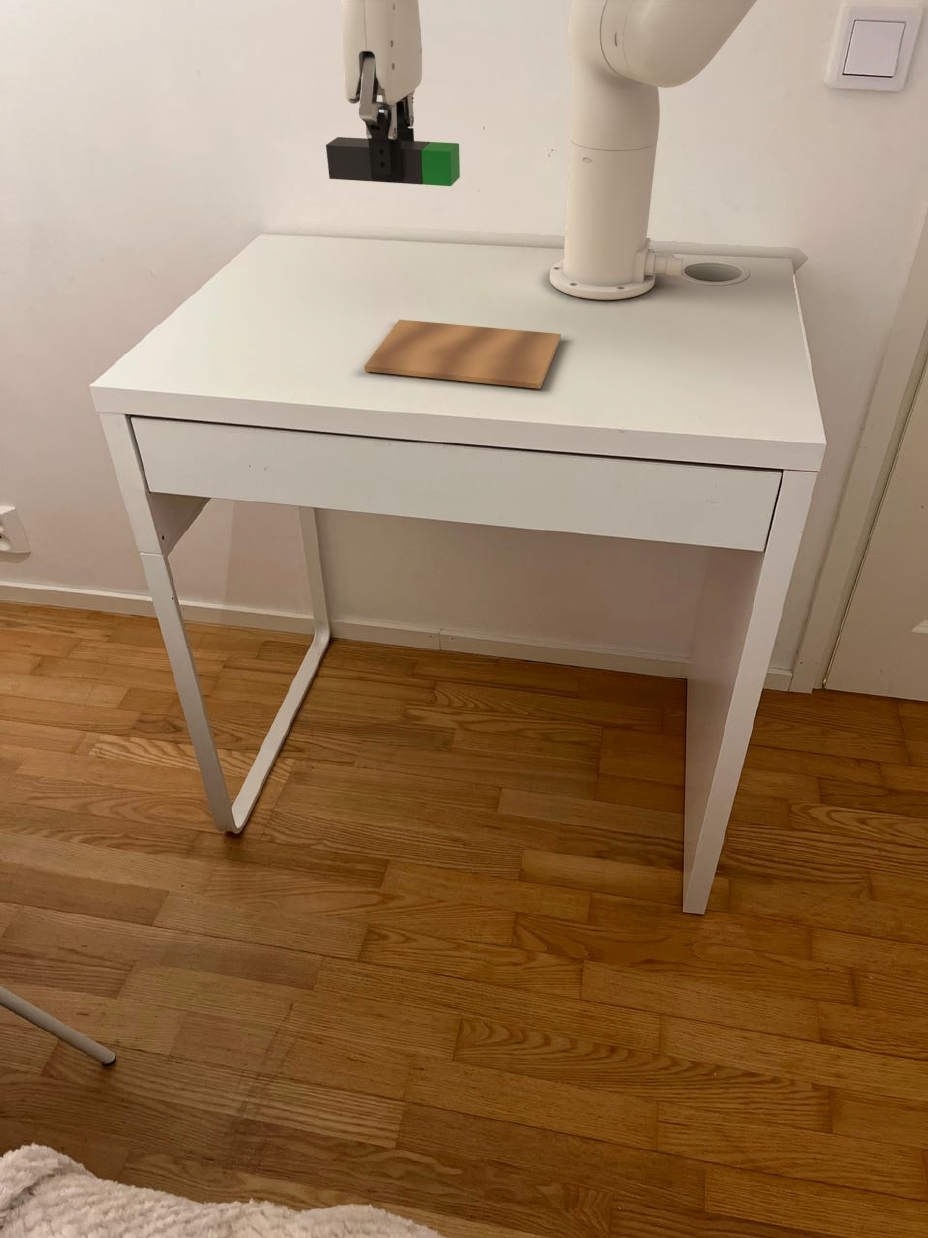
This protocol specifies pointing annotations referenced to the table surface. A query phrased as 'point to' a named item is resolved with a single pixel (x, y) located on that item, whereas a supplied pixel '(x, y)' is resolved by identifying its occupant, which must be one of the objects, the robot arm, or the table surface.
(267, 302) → the table surface
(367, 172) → the marker
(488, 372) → the wooden board
